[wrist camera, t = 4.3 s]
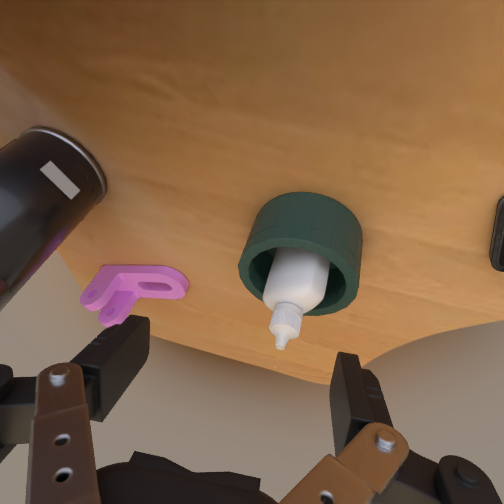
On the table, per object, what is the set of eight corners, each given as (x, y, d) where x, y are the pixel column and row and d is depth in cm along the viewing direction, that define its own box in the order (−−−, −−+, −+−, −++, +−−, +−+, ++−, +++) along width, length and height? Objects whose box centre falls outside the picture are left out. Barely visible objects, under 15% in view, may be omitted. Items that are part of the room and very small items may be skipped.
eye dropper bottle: (335, 255, 34) (319, 366, 26) (281, 252, 36) (251, 355, 28) (333, 222, 31) (314, 337, 23) (274, 221, 33) (238, 327, 25)
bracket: (124, 288, 53) (99, 327, 48) (103, 265, 49) (74, 304, 45) (195, 292, 48) (174, 335, 43) (178, 265, 44) (153, 310, 40)
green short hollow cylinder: (258, 261, 39) (243, 304, 35) (252, 186, 31) (232, 230, 27) (353, 277, 36) (348, 324, 33) (372, 199, 29) (368, 249, 25)
